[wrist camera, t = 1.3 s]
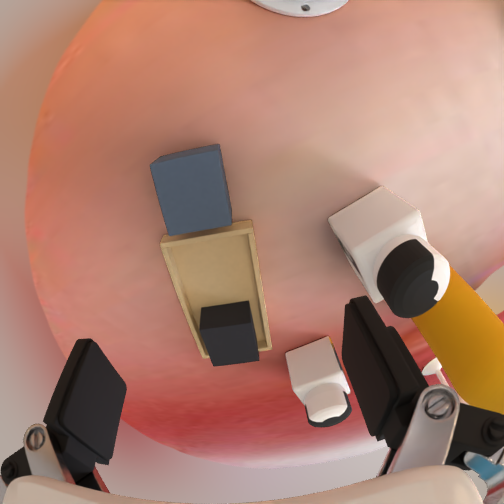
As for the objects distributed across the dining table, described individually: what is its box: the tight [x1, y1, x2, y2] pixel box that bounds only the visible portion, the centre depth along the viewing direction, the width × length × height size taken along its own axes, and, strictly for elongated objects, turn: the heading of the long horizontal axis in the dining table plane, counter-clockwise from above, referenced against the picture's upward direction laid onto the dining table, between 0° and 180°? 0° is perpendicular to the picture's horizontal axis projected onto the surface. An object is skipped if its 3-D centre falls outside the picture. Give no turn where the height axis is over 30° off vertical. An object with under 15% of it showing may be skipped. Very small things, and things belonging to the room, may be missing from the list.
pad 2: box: [199, 300, 259, 366], centre depth 34 cm, size 7×6×4 cm
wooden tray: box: [160, 220, 272, 359], centre depth 33 cm, size 18×10×2 cm, turn 8°
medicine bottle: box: [285, 336, 352, 427], centre depth 36 cm, size 7×7×12 cm
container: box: [328, 186, 450, 318], centre depth 25 cm, size 8×8×13 cm
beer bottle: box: [411, 265, 504, 415], centre depth 23 cm, size 9×9×29 cm
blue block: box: [150, 144, 232, 236], centre depth 26 cm, size 7×6×4 cm
